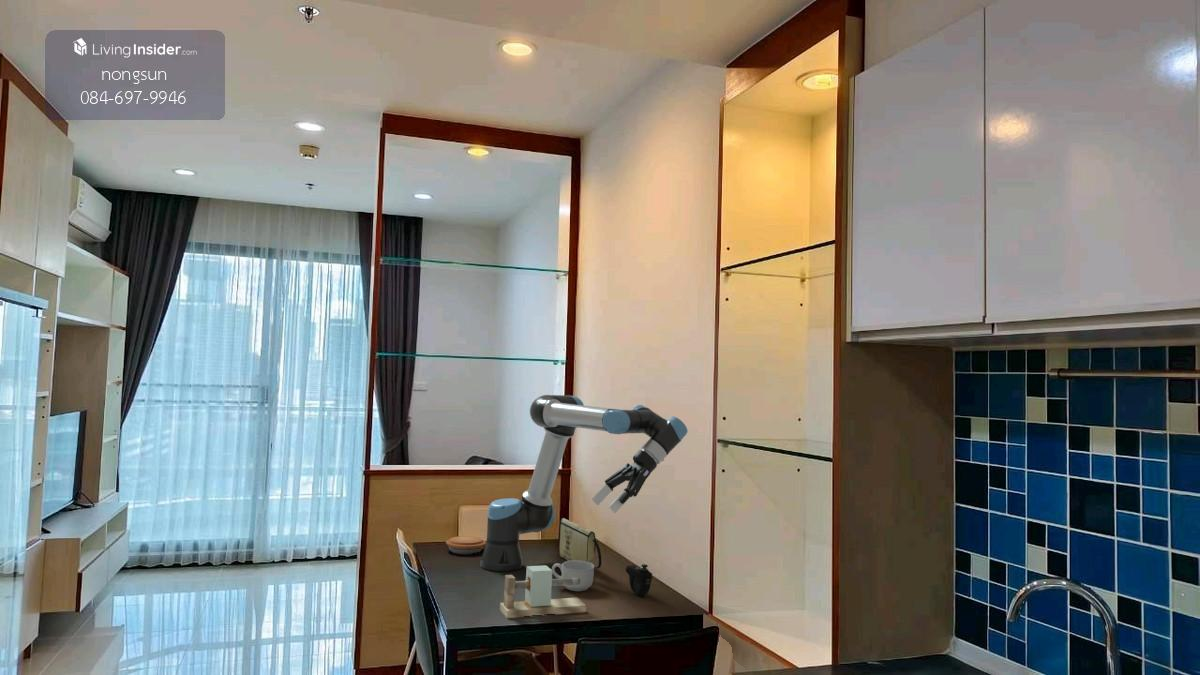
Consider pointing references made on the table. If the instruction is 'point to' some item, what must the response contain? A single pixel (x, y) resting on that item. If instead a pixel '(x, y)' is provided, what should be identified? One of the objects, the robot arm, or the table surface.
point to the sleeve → (538, 586)
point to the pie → (465, 544)
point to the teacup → (576, 573)
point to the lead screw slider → (524, 609)
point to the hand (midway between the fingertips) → (603, 506)
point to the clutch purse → (577, 543)
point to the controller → (639, 579)
